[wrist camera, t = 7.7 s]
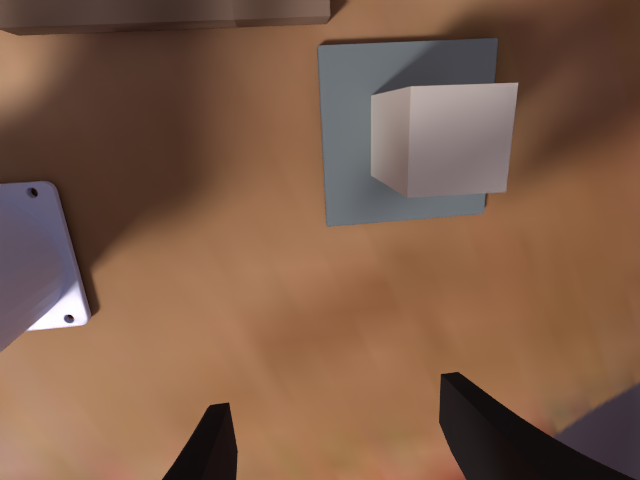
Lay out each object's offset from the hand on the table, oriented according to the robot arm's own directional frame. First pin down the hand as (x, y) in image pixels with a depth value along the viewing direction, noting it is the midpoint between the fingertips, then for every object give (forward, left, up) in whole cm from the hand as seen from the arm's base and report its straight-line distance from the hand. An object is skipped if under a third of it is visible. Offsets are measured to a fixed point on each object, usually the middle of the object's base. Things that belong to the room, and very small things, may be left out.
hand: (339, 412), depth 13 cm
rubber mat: (+6, +8, -10) cm, 14 cm away
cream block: (+6, +8, -10) cm, 14 cm away
